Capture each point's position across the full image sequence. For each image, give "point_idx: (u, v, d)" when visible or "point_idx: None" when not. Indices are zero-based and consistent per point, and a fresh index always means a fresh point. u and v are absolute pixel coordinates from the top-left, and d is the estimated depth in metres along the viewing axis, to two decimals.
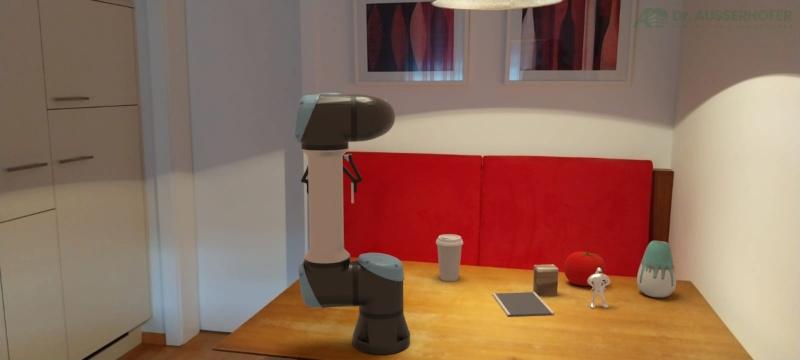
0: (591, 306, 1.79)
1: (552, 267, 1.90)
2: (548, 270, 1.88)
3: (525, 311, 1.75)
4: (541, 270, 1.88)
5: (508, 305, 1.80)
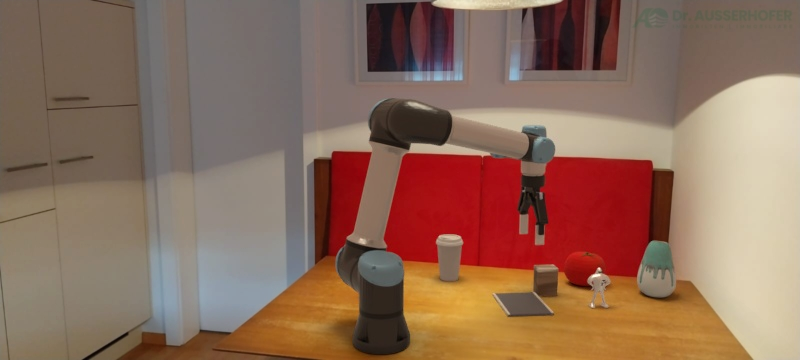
0: (591, 306, 1.79)
1: (552, 267, 1.90)
2: (548, 270, 1.88)
3: (525, 311, 1.75)
4: (541, 270, 1.88)
5: (508, 305, 1.80)
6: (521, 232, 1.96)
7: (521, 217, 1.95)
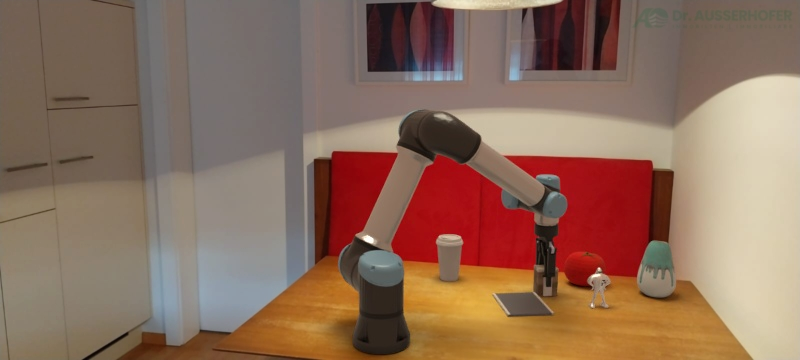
0: (591, 306, 1.79)
1: None
2: None
3: (525, 311, 1.75)
4: (541, 270, 1.88)
5: (508, 305, 1.80)
6: None
7: None
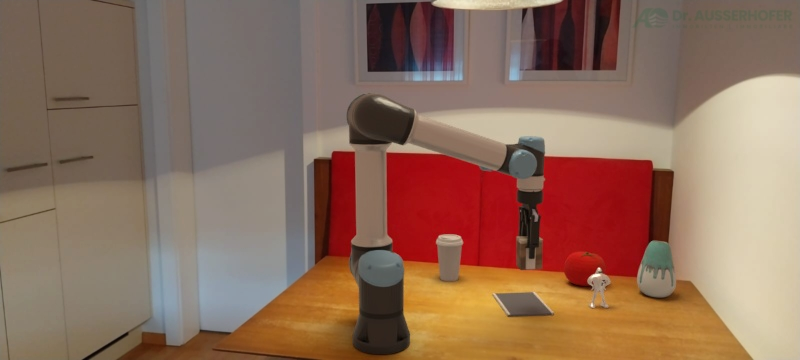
0: (591, 306, 1.79)
1: None
2: None
3: (525, 311, 1.75)
4: (524, 241, 1.72)
5: (508, 305, 1.80)
6: None
7: None
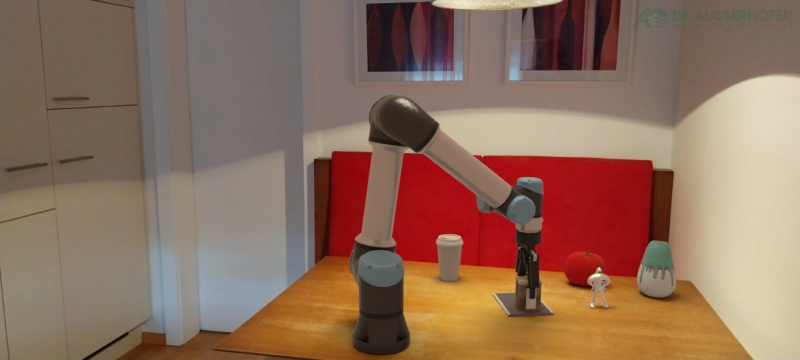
0: (591, 306, 1.79)
1: None
2: None
3: (525, 311, 1.75)
4: (523, 282, 1.74)
5: (508, 305, 1.80)
6: None
7: None
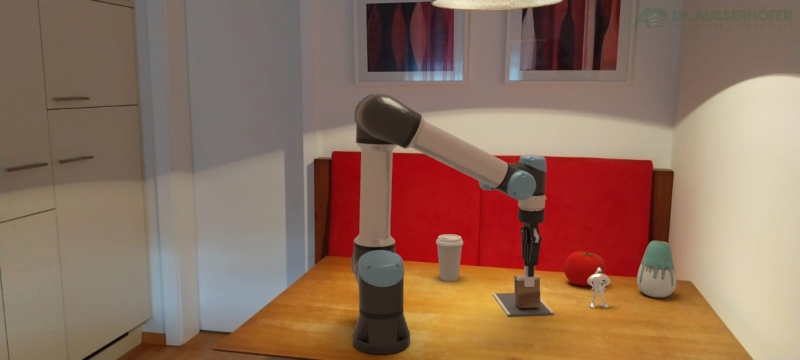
0: (591, 306, 1.79)
1: None
2: None
3: (525, 311, 1.75)
4: (521, 278, 1.76)
5: (508, 305, 1.80)
6: None
7: None
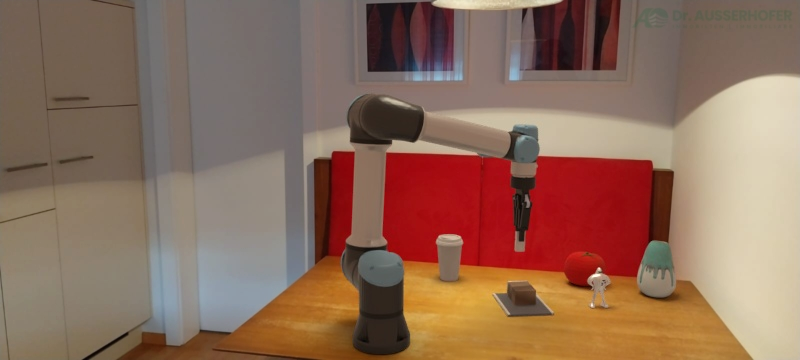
0: (591, 306, 1.79)
1: None
2: (517, 281, 1.88)
3: (525, 311, 1.75)
4: (510, 281, 1.88)
5: (508, 305, 1.80)
6: None
7: None
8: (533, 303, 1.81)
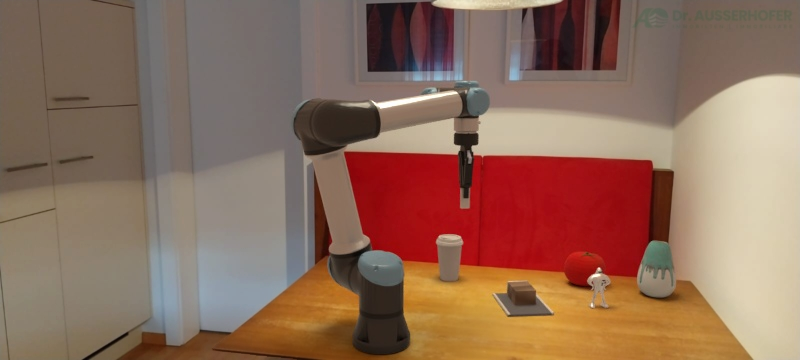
0: (591, 306, 1.79)
1: None
2: (517, 281, 1.88)
3: (525, 311, 1.75)
4: (510, 281, 1.88)
5: (508, 305, 1.80)
6: None
7: None
8: (533, 303, 1.81)
